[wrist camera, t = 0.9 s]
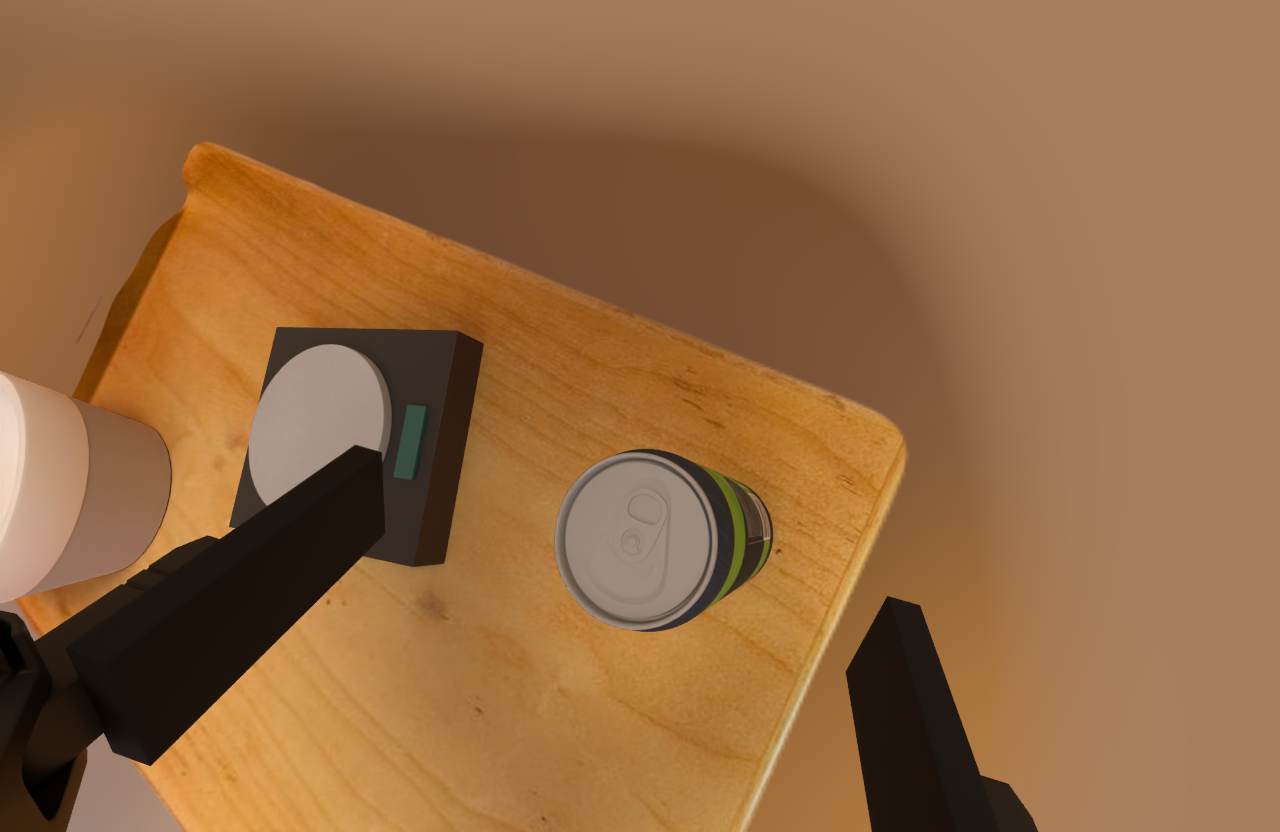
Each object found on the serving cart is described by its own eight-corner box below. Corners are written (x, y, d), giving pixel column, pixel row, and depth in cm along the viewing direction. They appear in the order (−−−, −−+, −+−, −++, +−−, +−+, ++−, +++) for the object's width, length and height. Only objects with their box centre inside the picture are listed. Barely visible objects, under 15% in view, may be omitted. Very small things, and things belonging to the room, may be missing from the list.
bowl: (222, 463, 47) (57, 448, 37) (111, 648, 47) (-81, 681, 37) (130, 363, 54) (-28, 328, 44) (34, 524, 55) (-143, 524, 45)
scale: (310, 338, 46) (266, 323, 43) (483, 343, 40) (450, 326, 36) (266, 526, 44) (217, 527, 40) (444, 563, 37) (403, 568, 34)
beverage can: (690, 463, 33) (586, 419, 19) (790, 501, 30) (753, 483, 17) (654, 559, 32) (520, 587, 19) (752, 605, 30) (682, 676, 16)
